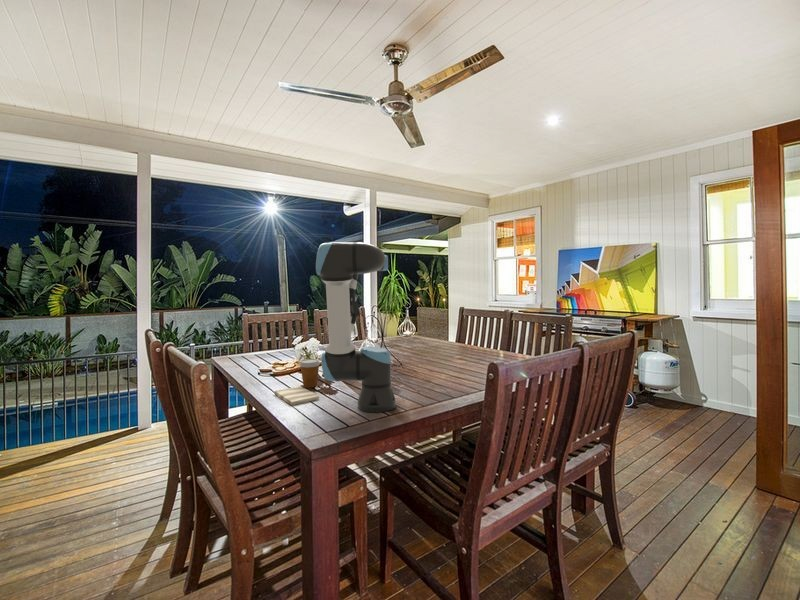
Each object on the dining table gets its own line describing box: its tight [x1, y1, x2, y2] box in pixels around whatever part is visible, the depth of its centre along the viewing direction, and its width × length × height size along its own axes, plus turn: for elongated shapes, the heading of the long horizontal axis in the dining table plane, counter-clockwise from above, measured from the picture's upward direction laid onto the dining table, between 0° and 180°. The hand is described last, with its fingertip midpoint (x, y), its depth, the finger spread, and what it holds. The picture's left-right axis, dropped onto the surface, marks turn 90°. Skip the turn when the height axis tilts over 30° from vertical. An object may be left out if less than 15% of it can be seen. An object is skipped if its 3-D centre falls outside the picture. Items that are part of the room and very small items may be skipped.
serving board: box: [274, 385, 320, 406], centre depth 164 cm, size 19×12×2 cm, turn 38°
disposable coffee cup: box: [298, 358, 321, 388], centre depth 180 cm, size 10×10×12 cm
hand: (341, 331), depth 180 cm, fingers open, 13 cm apart
